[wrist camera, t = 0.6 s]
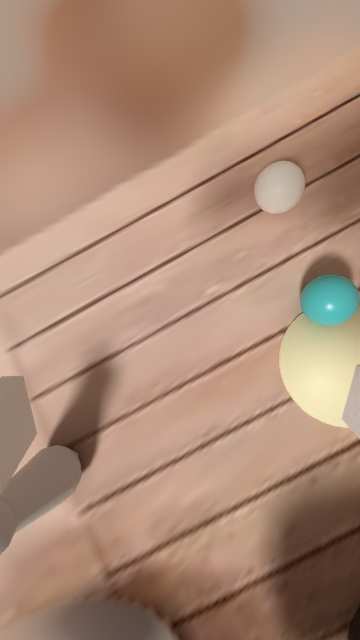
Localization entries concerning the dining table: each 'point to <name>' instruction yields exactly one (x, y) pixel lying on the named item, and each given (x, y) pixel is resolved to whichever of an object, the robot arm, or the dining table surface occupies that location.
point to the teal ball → (329, 300)
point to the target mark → (320, 365)
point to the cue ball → (279, 187)
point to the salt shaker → (38, 489)
